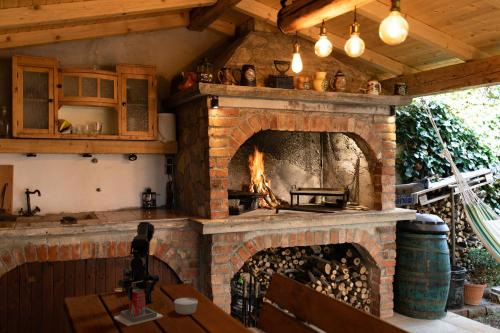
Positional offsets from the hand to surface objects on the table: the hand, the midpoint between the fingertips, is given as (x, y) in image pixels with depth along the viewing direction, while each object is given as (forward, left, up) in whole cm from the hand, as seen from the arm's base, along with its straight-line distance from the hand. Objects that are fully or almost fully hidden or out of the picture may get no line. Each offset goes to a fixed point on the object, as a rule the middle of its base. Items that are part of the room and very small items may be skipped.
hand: (138, 299), depth 211 cm
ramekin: (-22, +7, -9) cm, 25 cm away
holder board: (0, 0, -9) cm, 9 cm away
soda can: (+1, 0, -8) cm, 8 cm away
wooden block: (-19, -40, -9) cm, 46 cm away
